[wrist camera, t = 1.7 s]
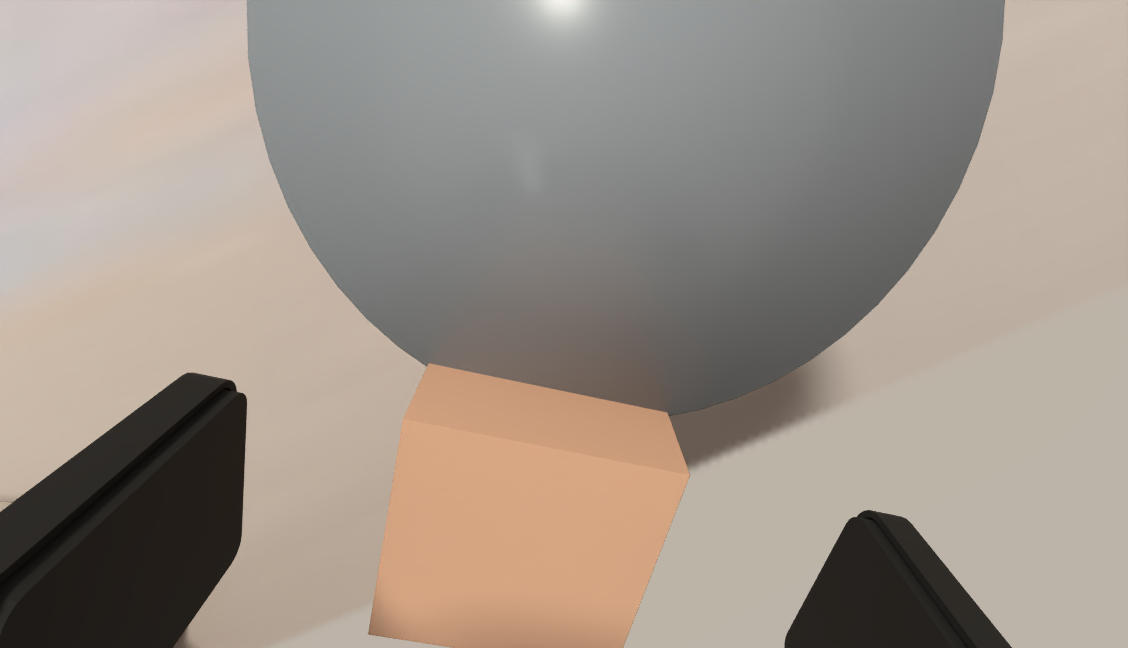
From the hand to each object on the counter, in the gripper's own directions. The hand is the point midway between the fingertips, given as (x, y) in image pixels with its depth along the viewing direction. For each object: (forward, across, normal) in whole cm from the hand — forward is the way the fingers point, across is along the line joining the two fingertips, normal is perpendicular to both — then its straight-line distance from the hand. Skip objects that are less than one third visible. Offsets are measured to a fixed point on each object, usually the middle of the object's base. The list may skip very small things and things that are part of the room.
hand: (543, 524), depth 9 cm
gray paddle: (+2, 0, -4) cm, 5 cm away
